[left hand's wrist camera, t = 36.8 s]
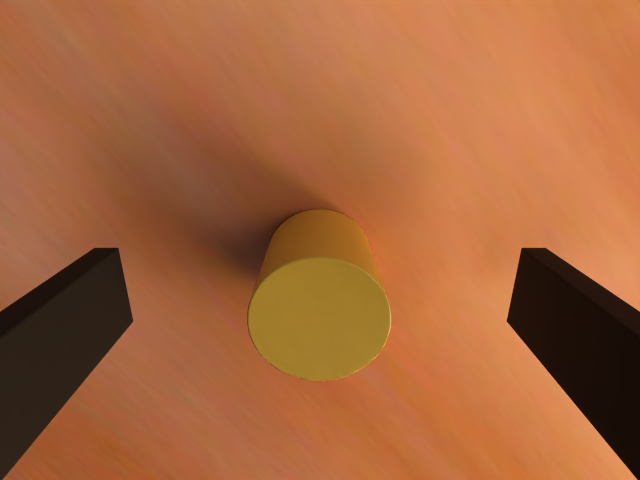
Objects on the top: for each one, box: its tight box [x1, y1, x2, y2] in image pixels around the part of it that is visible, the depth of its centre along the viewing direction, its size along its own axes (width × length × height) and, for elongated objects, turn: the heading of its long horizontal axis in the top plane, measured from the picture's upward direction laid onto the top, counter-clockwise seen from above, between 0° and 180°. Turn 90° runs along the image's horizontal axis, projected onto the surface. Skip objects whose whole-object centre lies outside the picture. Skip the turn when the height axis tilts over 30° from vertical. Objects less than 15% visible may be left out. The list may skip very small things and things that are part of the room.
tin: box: [247, 209, 391, 381], centre depth 13 cm, size 4×4×5 cm
